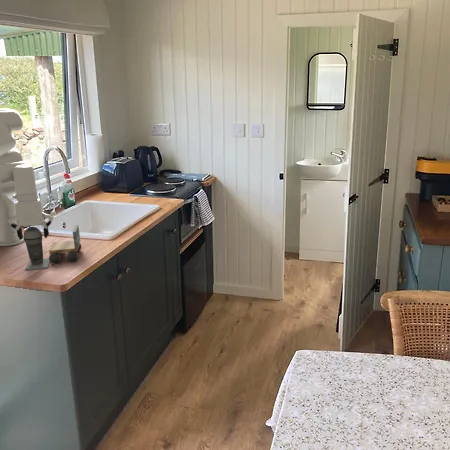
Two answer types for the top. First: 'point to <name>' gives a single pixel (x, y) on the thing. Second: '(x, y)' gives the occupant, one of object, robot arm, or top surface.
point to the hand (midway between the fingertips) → (33, 237)
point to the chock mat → (41, 266)
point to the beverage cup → (34, 245)
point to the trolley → (66, 248)
